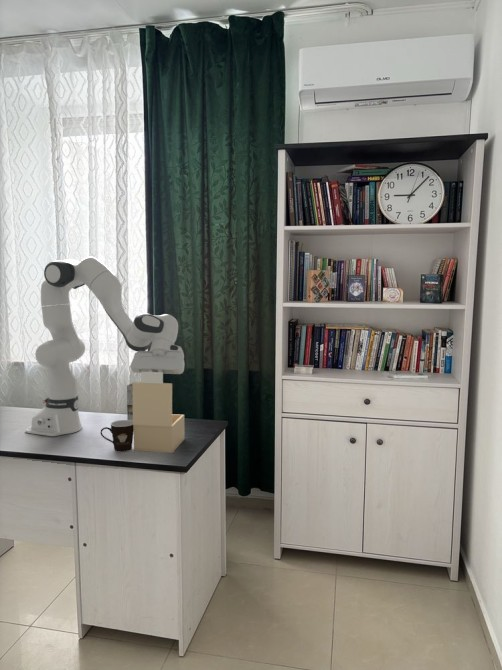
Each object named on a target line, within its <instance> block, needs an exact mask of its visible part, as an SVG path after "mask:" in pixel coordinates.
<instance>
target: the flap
mask: <svg viewBox="0 0 502 670" xmlns="http://www.w3.org/2000/svg"><path fill="white" fill-rule="evenodd" d="M132 383H133V420H132V421H133V425H147V426H165V427H172V414H173V383H171V382H170V383H168V382H164V374H163V372H141V373H140V381H132Z"/></svg>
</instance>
